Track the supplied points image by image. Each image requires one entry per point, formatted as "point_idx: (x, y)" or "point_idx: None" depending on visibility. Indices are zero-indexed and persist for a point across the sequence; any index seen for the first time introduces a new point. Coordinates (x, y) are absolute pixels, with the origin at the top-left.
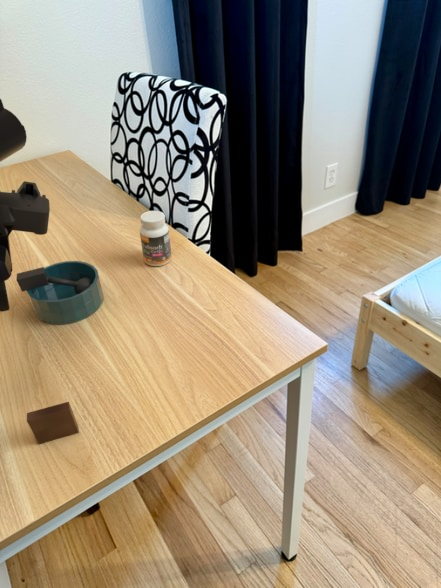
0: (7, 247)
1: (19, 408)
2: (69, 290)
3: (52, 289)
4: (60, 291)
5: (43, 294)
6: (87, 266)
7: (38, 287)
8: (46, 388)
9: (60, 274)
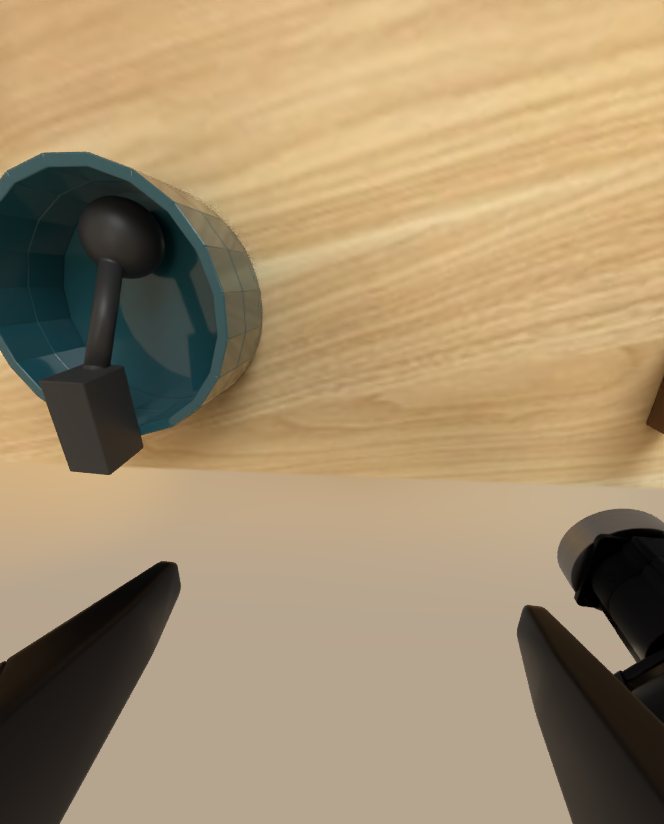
0: (23, 710)
1: (526, 456)
2: None
3: None
4: None
5: None
6: (9, 200)
7: None
8: (495, 396)
9: (37, 319)
